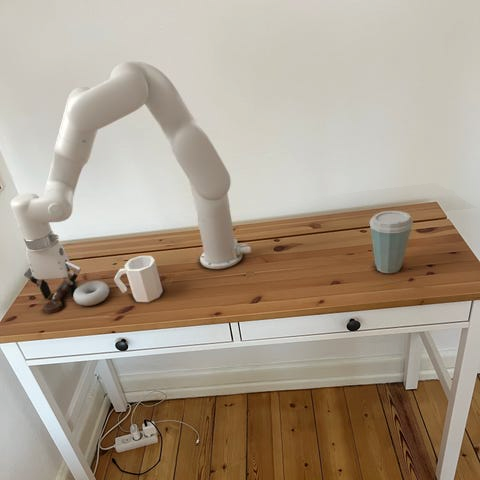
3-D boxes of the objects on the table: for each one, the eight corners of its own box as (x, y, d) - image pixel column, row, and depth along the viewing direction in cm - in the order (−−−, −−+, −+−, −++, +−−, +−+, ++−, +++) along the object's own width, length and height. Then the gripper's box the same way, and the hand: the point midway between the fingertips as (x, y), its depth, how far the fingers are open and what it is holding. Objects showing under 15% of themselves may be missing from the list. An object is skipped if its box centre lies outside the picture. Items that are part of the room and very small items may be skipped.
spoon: (63, 282, 161) (60, 275, 159) (78, 281, 160) (76, 274, 159) (42, 313, 148) (39, 306, 146) (59, 312, 147) (56, 305, 146)
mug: (162, 283, 152) (154, 253, 147) (162, 299, 145) (154, 268, 139) (121, 291, 152) (111, 260, 146) (118, 307, 145) (108, 276, 139)
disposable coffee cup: (362, 263, 147) (362, 212, 138) (398, 254, 148) (400, 203, 139) (379, 281, 138) (380, 228, 129) (418, 271, 139) (421, 218, 131)
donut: (96, 310, 145) (117, 290, 152) (92, 300, 143) (114, 280, 150) (68, 305, 149) (90, 286, 156) (64, 295, 147) (86, 276, 154)
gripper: (75, 231, 145) (94, 286, 155) (15, 236, 148) (38, 290, 158) (65, 244, 139) (85, 300, 149) (3, 249, 142) (27, 304, 152)
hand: (61, 294), depth 154 cm, fingers open, 7 cm apart
